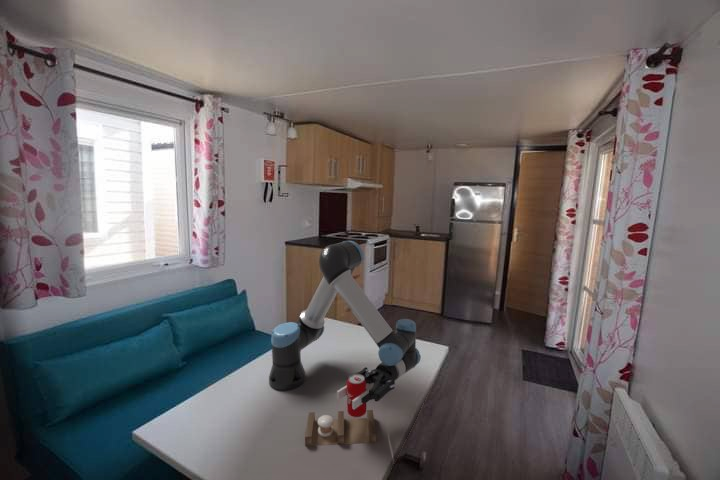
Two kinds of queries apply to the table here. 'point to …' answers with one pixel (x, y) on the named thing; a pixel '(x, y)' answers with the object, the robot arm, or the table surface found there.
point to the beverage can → (355, 394)
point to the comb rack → (342, 430)
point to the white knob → (325, 426)
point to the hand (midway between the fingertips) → (345, 400)
